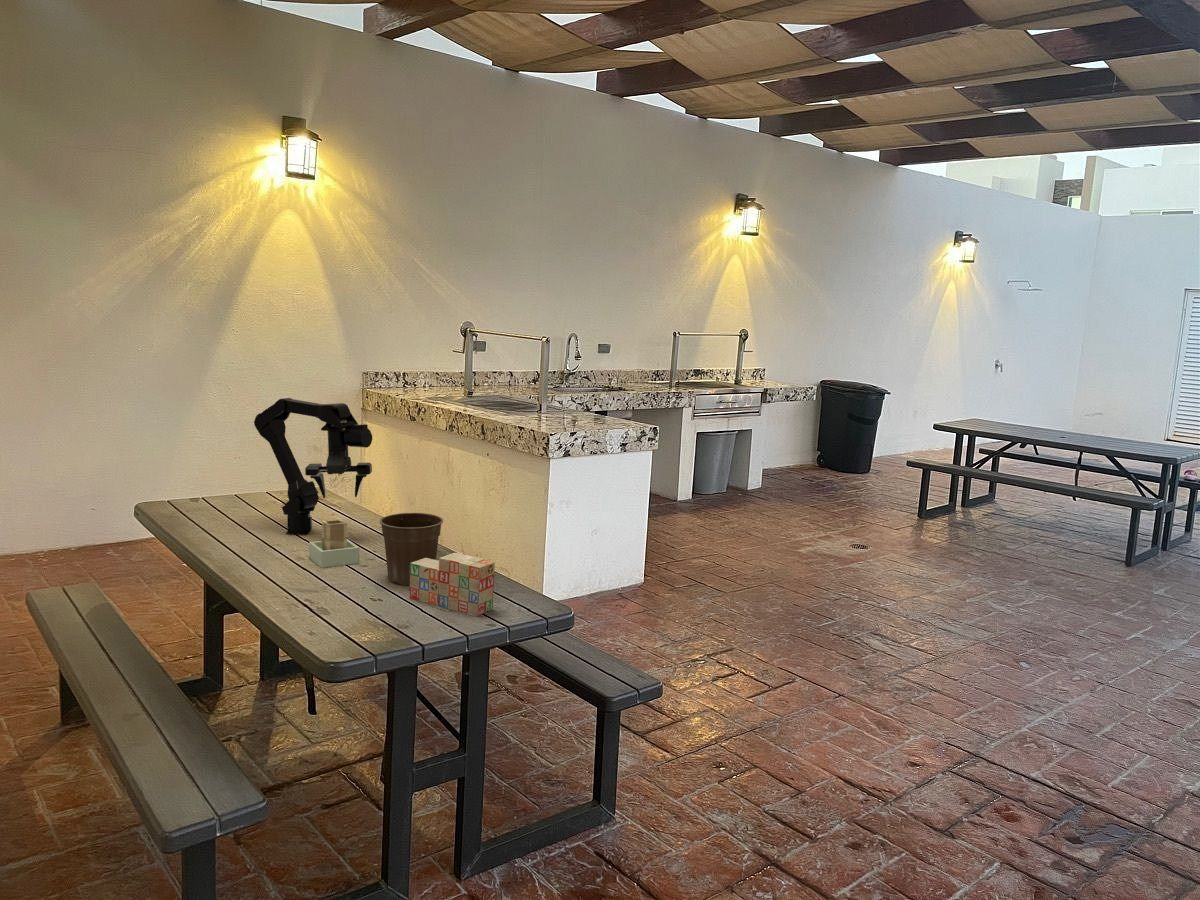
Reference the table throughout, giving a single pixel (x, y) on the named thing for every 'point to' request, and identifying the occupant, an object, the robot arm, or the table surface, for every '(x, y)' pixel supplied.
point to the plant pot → (409, 542)
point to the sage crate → (333, 555)
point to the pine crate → (334, 534)
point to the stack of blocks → (454, 583)
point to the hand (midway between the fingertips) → (340, 497)
